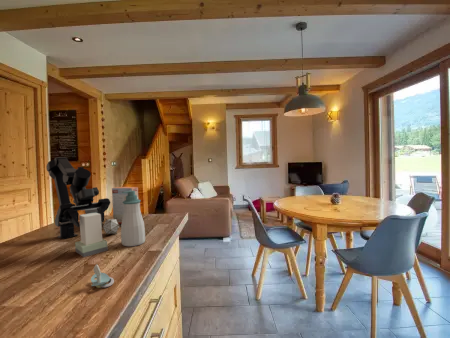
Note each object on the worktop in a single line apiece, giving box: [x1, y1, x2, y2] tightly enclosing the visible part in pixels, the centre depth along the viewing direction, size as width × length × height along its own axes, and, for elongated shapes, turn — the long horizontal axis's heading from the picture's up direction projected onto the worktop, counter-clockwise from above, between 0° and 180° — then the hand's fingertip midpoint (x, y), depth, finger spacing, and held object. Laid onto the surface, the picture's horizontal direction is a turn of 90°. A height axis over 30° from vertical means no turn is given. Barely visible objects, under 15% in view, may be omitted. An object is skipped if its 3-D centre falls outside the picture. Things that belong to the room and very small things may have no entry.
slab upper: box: [74, 238, 108, 253], centre depth 100 cm, size 9×9×2 cm
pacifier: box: [90, 264, 115, 289], centre depth 73 cm, size 7×6×6 cm
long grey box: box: [84, 201, 104, 226], centre depth 143 cm, size 25×8×11 cm, turn 27°
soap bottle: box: [120, 191, 146, 247], centre depth 108 cm, size 10×10×23 cm
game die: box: [102, 217, 121, 237], centre depth 122 cm, size 9×8×10 cm
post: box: [78, 212, 103, 245], centre depth 100 cm, size 6×6×11 cm
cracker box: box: [111, 186, 139, 225], centre depth 143 cm, size 14×6×21 cm, turn 71°
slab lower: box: [75, 245, 109, 258], centre depth 100 cm, size 9×9×2 cm
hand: (91, 224), depth 99 cm, fingers open, 9 cm apart
